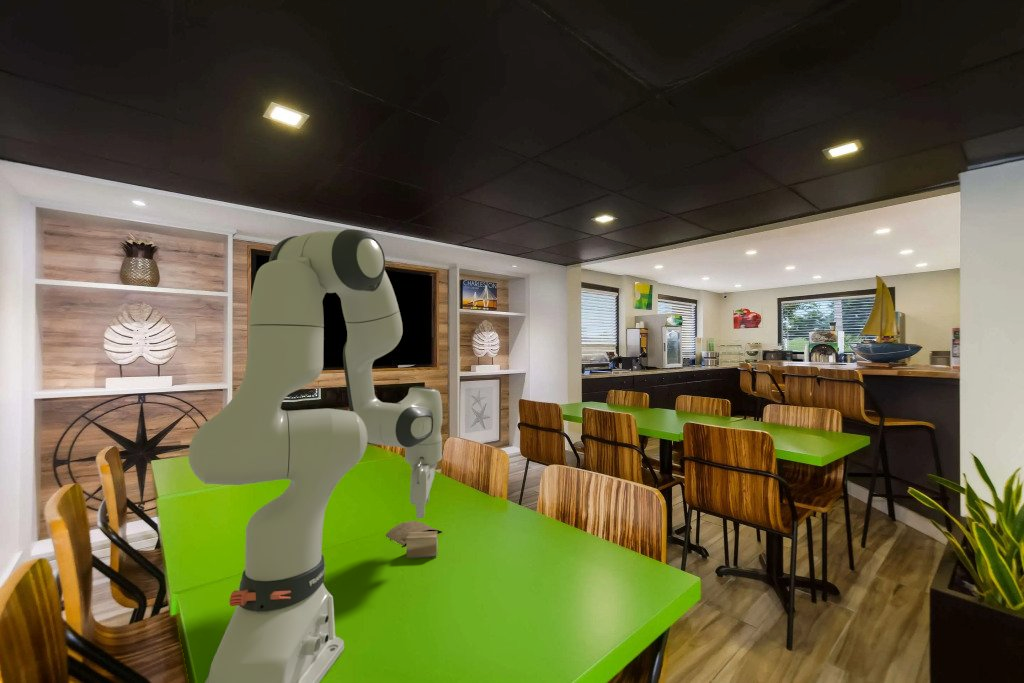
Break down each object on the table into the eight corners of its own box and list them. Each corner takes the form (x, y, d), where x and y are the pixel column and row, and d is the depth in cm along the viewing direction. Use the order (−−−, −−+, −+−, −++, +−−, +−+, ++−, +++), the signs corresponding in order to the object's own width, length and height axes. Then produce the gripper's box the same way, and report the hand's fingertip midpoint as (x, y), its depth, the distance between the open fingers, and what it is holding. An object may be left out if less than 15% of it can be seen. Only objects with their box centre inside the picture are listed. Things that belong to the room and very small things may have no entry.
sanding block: (436, 558, 105) (436, 536, 105) (406, 559, 104) (406, 538, 104) (437, 551, 108) (437, 531, 109) (408, 552, 108) (408, 532, 108)
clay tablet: (401, 550, 110) (401, 539, 110) (379, 539, 117) (379, 529, 117) (446, 533, 121) (446, 523, 121) (423, 524, 128) (423, 514, 128)
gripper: (432, 464, 97) (431, 526, 97) (440, 443, 118) (439, 495, 117) (403, 464, 97) (402, 527, 97) (416, 443, 117) (415, 495, 117)
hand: (422, 509), depth 107 cm, fingers open, 8 cm apart
